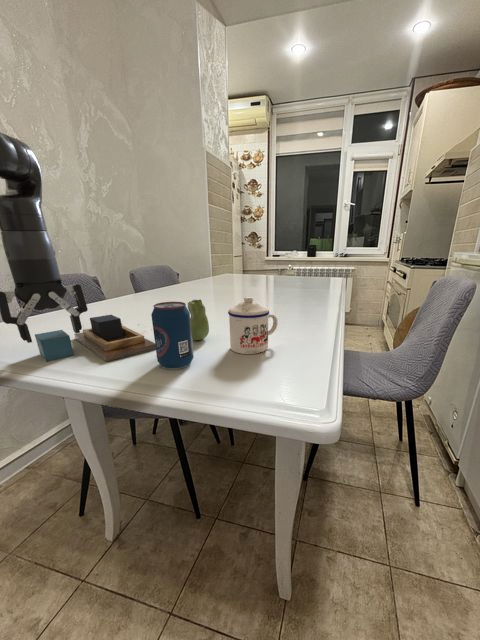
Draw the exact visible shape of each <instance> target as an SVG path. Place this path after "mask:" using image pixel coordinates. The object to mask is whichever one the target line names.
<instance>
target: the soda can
mask: <svg viewBox="0 0 480 640" xmlns="http://www.w3.org/2000/svg"><path fill="white" fill-rule="evenodd" d="M150 316H151V322H152V323H151V324H152V332H153V338H154V343H155V346H156V349H155V353H156V360H157V362H158V364H159V365H160V366H161V367H162V368H163V369H165V370H170V371H171V370H172V371H173V370H181V369H185V368H187V367H189V366H190V365H191V363H192V362H193V359H194V344H193V339H192V333H191V322H190V318H191V314H190V312H189V310H188V306H187V304H186V302H183V301H164V302H158V303H155V304H153V310H152V312H151V315H150Z"/></svg>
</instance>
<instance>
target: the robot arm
mask: <svg viewBox="0 0 480 640" xmlns="http://www.w3.org/2000/svg"><path fill="white" fill-rule="evenodd" d="M0 179H1V180H4V182H5V192H4V193H3V194H0V236H1V243H2V247H3V250H4V254H5V257H6V261H7V263H8V266H9V269H10V273H11V277H12V280H13V283H14V290H10V291H9V290H8V291H6V290H5V291H2V290H0V317H1V320H2V322H3V324H6V325H14V326H15V325H16V326H17V330H18V334H19V336H20V338H21V340H23V341H24V342H25V341H26V343H27V344H30V343H31V344H32V343H33V339H32V336H31V333H30V330H29V325H28V324H27V323H26V321H27V320H28V318H29V317H30V315H31V314H32V312H33V311H38V312H39V311H44V310H46V309H51V310H52V309H53V310H54V309H57V308H59V306H60V307H61V308H62V309H64V310H65V311H66V312H68V313H69V314H70V315H69V319H70V323H71V327H72V330H73V333H74V334H77V333H81V331H83V326H82V322H81V321H82V320H81V318H80V317H81V316H80V315H81V314H83V313H86V312H88V310H89V309H88V308H89V307H88V305H87V302H86V298H85V296H84V292H83V289H82V286H81V284H78V283H72V284H70V285H65V284H64V283H63V280H62V278H61V273H60V270H59V266H58V262H57V258H56V257H57V256H56V251H55V249H54V246H53V242H52V240H51V237H50V235H49V232H48V228H47V225H46V220H45V216H44V213H43V210H42V209H43V208H42V203H43V174H42V167H41V164H40V161H39V159H38V157H37V155H36V154H35V152H34V151H33V149H32V148H31V147H30V146H29V145H28V144H27V143H25V142H24V141H22V140H20V139H18V138H16V137H13V136H10V135H8V134H5V133H3V132H1V131H0ZM67 292H68V293H69V294H70V295H72V296H73V297H74V299H75V302H76V307H73V306H72V305H71V304H70V303H68V302H67V301H66V300H64V298H65V296H66V293H67ZM14 297H16V298H17V299H18V300H19V301H21V302H22V303H23V304H22V305H21V307H20V308H19V311H18V313H17V314H16V316H12V314H11V311H10V307H9V304H10V303H12V302H13V299H14Z"/></svg>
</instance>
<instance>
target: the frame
mask: <svg viewBox="0 0 480 640" xmlns="http://www.w3.org/2000/svg"><path fill="white" fill-rule="evenodd" d="M122 330H123V337H118V338H114V339H109V340H103V339H102V338H100V337H99V336H97V335H95V334H94V333H93V331H92V327H90V328H86V329H82V332H80V333H74V339H76V340H77V341H78V342H79V343H81V344H82V345H83V346H84V347H86V348H87V349H88V350H89V351H91V352H92V353H94V354H95V355H97V356H98V357H99V358H101V359H102V360H103V361H105V362H107V363H109V362H112V361H115V360H119V359H123V358H127V357H131V356H134V355H138V354H139V355H140V354H142V353H147V352H150V351H154V350H156V346H155V342H153V341H151V340H149V339H147V338H145V335H144V334H141V333H140V332H137V331H135V330H134V329H133V330H132V329H131V328H128V327H126V326H124V325H122Z"/></svg>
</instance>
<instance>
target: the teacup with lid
mask: <svg viewBox="0 0 480 640" xmlns="http://www.w3.org/2000/svg"><path fill="white" fill-rule="evenodd" d="M227 314H228V318H229V319H228V320H229V343H230V345H229V347H230V349H231V350H232V351H233V352H234V353H238V354H242V355H255V354H261V353H264V352H266V351H267V349H268V348H269V336H271V335H272V334H274V333H275V332H276V330H277V328H278V323H279V321H278V317H277V316H276V315H274V314H272V313H270V310H269V308H268V307H267V306H265V305H262V304H260V303H258V302H257V301H254V298H253V297H252V296H244V298H243V301H241V302H239V303H238V304H236V305H234V306H231V307H230V308H229V309H228V311H227ZM269 318H272V320H273V323H272V326H271V328H270V330H269ZM260 352H261V353H260Z"/></svg>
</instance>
